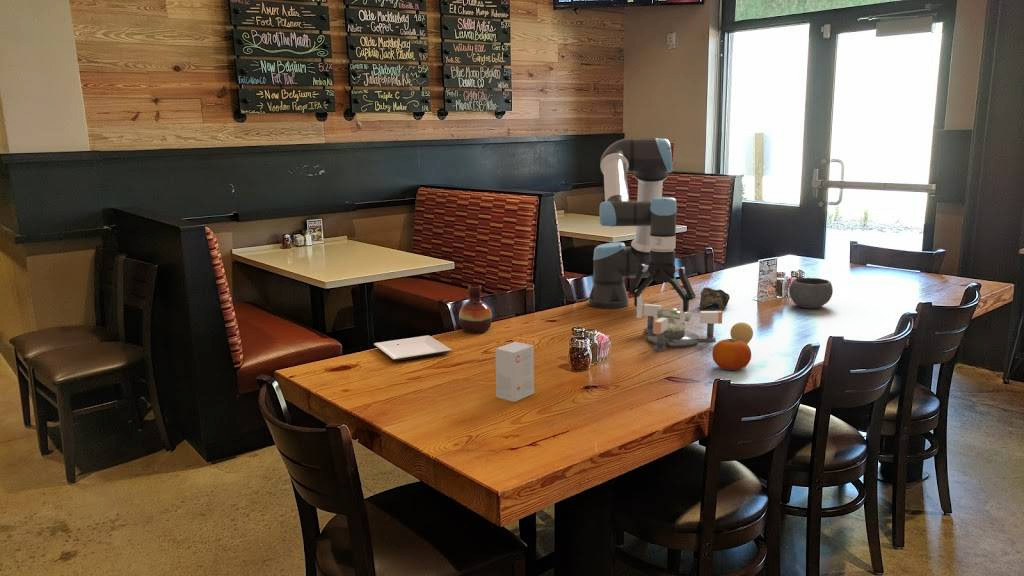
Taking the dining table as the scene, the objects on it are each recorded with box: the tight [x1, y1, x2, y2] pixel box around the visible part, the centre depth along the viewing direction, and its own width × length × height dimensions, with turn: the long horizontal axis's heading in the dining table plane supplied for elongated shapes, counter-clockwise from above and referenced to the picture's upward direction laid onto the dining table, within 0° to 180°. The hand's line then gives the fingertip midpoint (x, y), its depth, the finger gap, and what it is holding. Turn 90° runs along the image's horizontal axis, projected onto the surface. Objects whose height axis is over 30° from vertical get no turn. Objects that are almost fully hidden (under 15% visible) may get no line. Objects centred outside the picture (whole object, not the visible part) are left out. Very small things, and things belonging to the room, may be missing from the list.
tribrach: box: [643, 307, 717, 352], centre depth 243 cm, size 24×21×10 cm
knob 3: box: [699, 310, 723, 337], centre depth 245 cm, size 6×2×8 cm, turn 88°
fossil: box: [699, 286, 730, 311], centre depth 288 cm, size 11×9×10 cm
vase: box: [458, 284, 493, 334], centre depth 260 cm, size 11×11×15 cm
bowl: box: [789, 277, 834, 309], centre depth 287 cm, size 15×15×10 cm
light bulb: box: [730, 322, 754, 345], centre depth 228 cm, size 6×6×10 cm
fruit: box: [711, 338, 752, 371], centre depth 217 cm, size 11×10×8 cm
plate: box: [373, 334, 453, 362], centre depth 238 cm, size 19×19×2 cm
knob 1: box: [642, 303, 662, 329], centre depth 255 cm, size 6×2×8 cm, turn 65°
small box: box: [494, 341, 535, 403], centre depth 197 cm, size 8×6×13 cm
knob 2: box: [653, 317, 668, 346], centre depth 236 cm, size 6×2×8 cm, turn 148°
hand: (660, 319), depth 235 cm, fingers open, 13 cm apart
